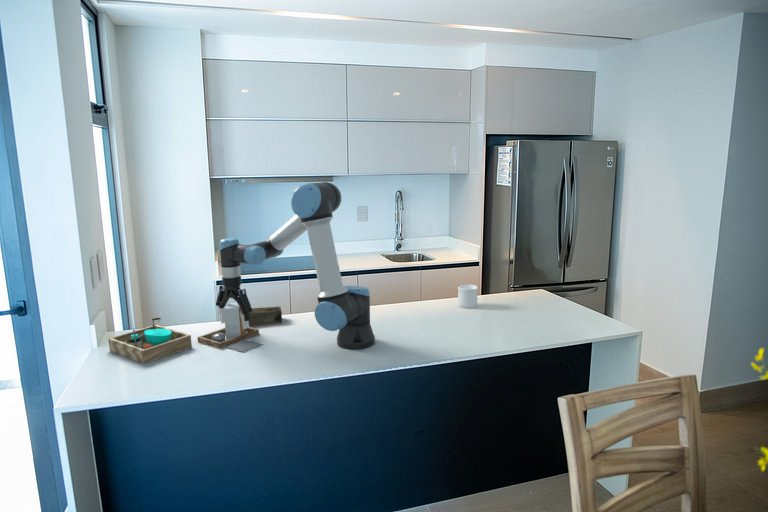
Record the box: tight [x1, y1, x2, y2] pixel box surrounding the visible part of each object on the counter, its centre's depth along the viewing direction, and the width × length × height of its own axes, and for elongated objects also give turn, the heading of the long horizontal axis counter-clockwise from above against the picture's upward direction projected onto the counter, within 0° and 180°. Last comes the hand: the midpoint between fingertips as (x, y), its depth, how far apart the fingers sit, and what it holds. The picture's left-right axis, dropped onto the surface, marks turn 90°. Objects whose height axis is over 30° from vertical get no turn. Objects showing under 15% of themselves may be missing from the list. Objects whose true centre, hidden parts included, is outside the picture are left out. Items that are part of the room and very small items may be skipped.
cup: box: [457, 283, 479, 309], centre depth 256 cm, size 10×10×10 cm
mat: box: [225, 338, 263, 354], centre depth 207 cm, size 10×10×1 cm
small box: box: [224, 302, 246, 340], centre depth 219 cm, size 8×6×13 cm
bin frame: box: [197, 326, 260, 350], centre depth 217 cm, size 14×20×2 cm
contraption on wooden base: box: [125, 317, 172, 349], centre depth 204 cm, size 14×18×15 cm
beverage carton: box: [249, 306, 283, 327], centre depth 236 cm, size 8×19×7 cm, turn 105°
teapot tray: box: [108, 324, 193, 365], centre depth 205 cm, size 24×20×5 cm
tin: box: [211, 333, 227, 342], centre depth 213 cm, size 5×5×3 cm
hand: (234, 325), depth 219 cm, fingers open, 13 cm apart
